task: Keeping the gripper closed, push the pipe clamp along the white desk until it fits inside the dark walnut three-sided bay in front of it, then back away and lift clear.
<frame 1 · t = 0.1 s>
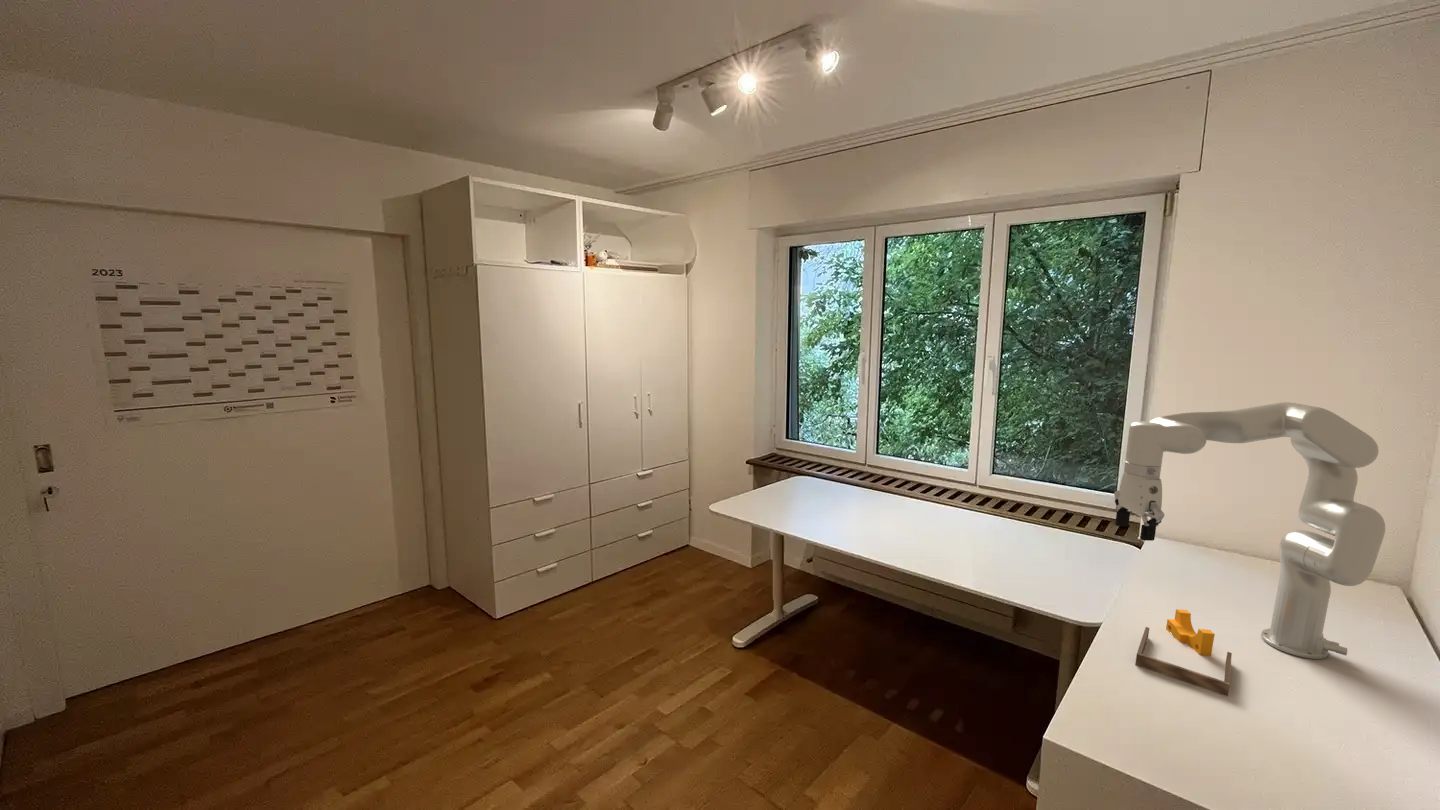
hand: (1134, 532, 148), 31 cm above the table, tool pointing down, fingers open, 9 cm apart
pipe clamp: (1187, 643, 153), on the table
walnut bay: (1182, 663, 144), on the table
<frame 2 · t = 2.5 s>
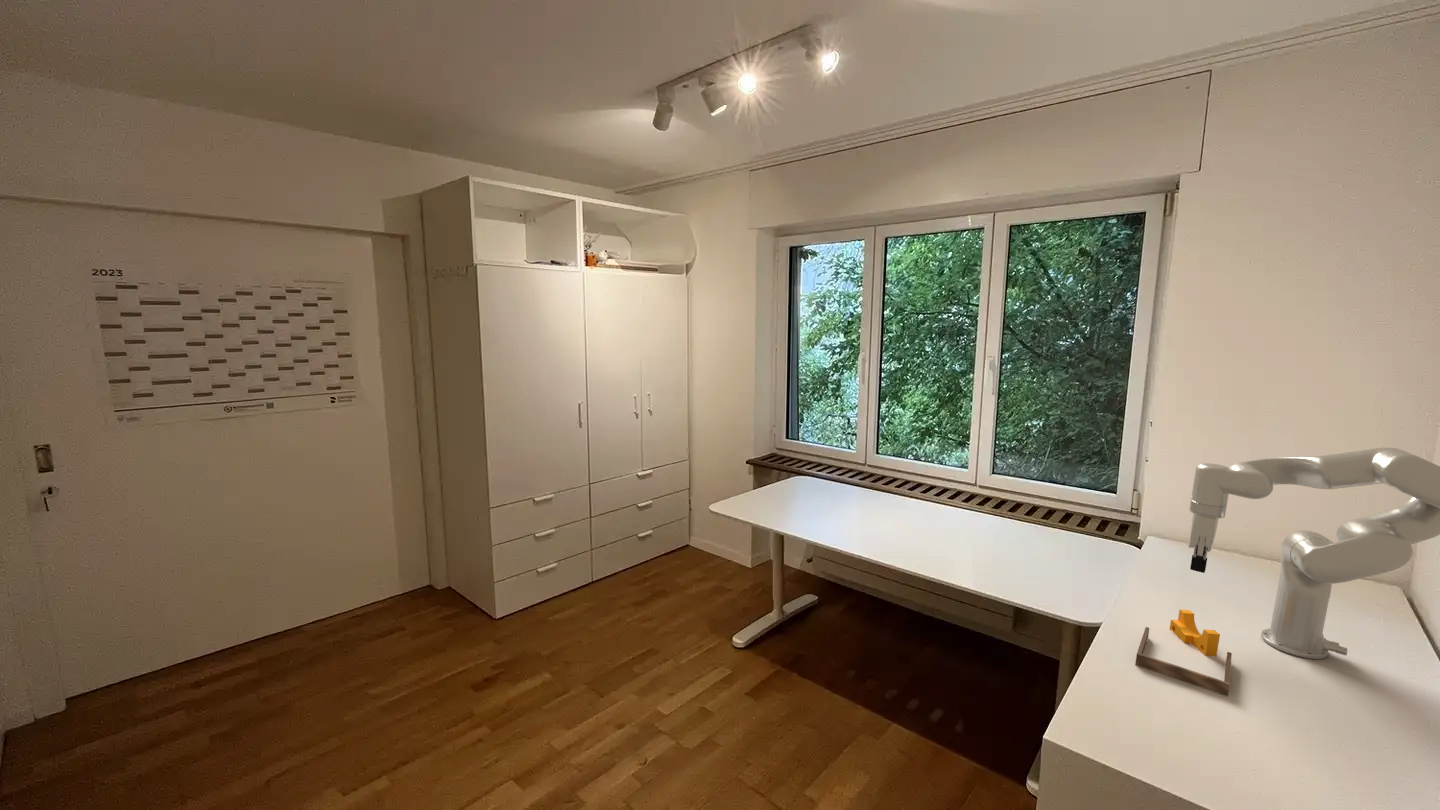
hand: (1197, 570, 159), 16 cm above the table, tool pointing down, fingers closed
pipe clamp: (1191, 643, 153), on the table
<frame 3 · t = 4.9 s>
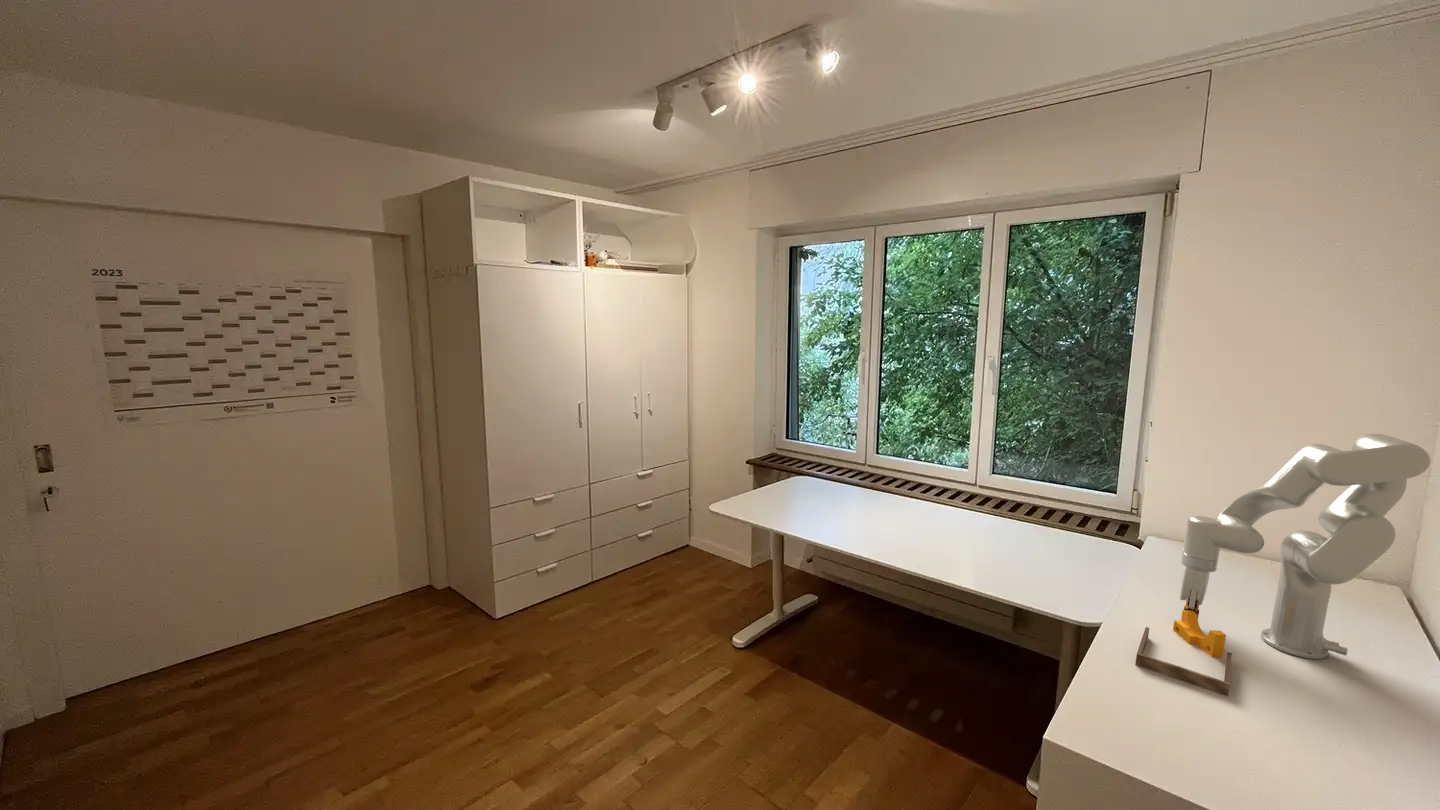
hand: (1189, 621, 160), 2 cm above the table, tool pointing down, fingers closed
pipe clamp: (1196, 644, 153), on the table, touching gripper
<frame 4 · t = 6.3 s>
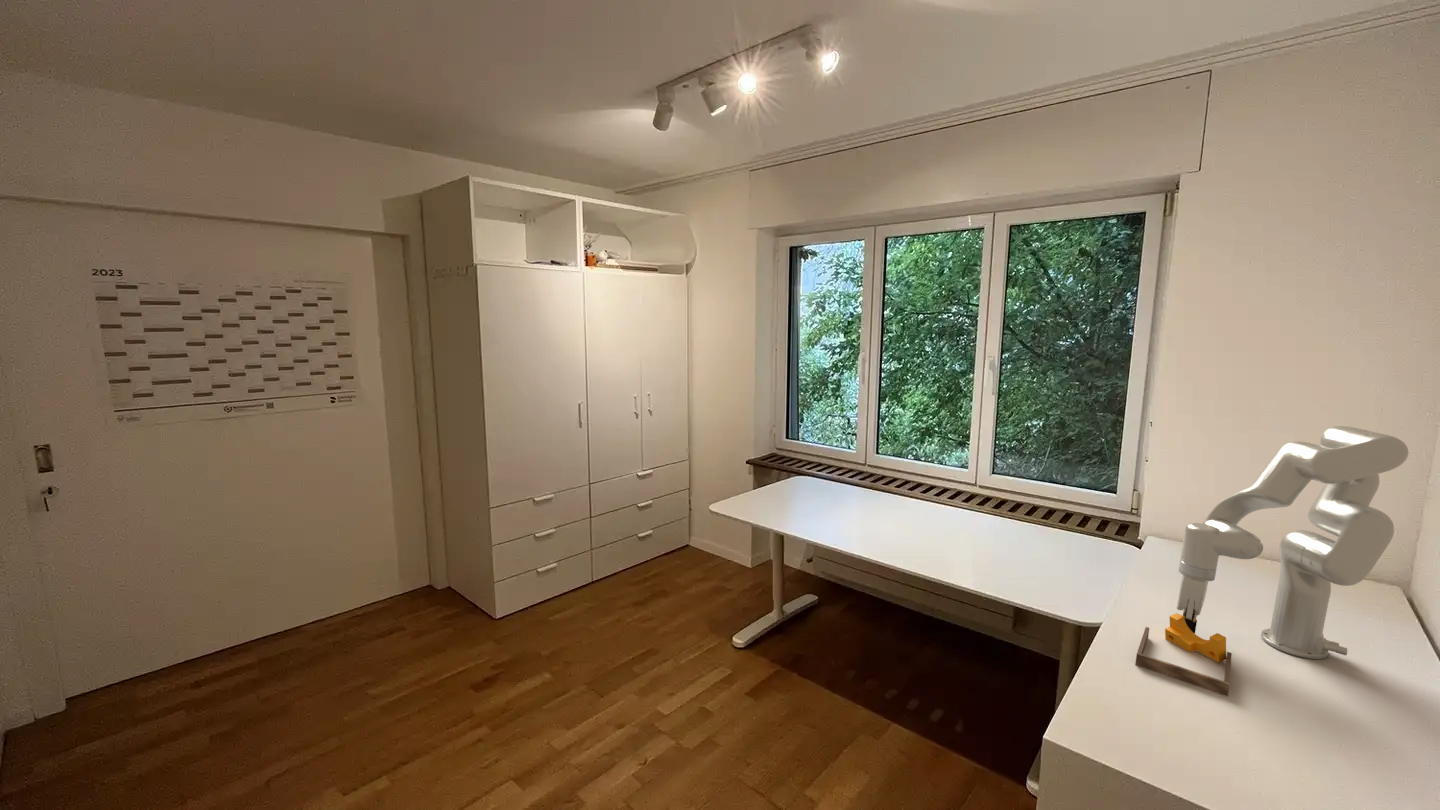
hand: (1187, 632, 155), 2 cm above the table, tool pointing down, fingers closed
pipe clamp: (1194, 649, 149), on the table, touching gripper
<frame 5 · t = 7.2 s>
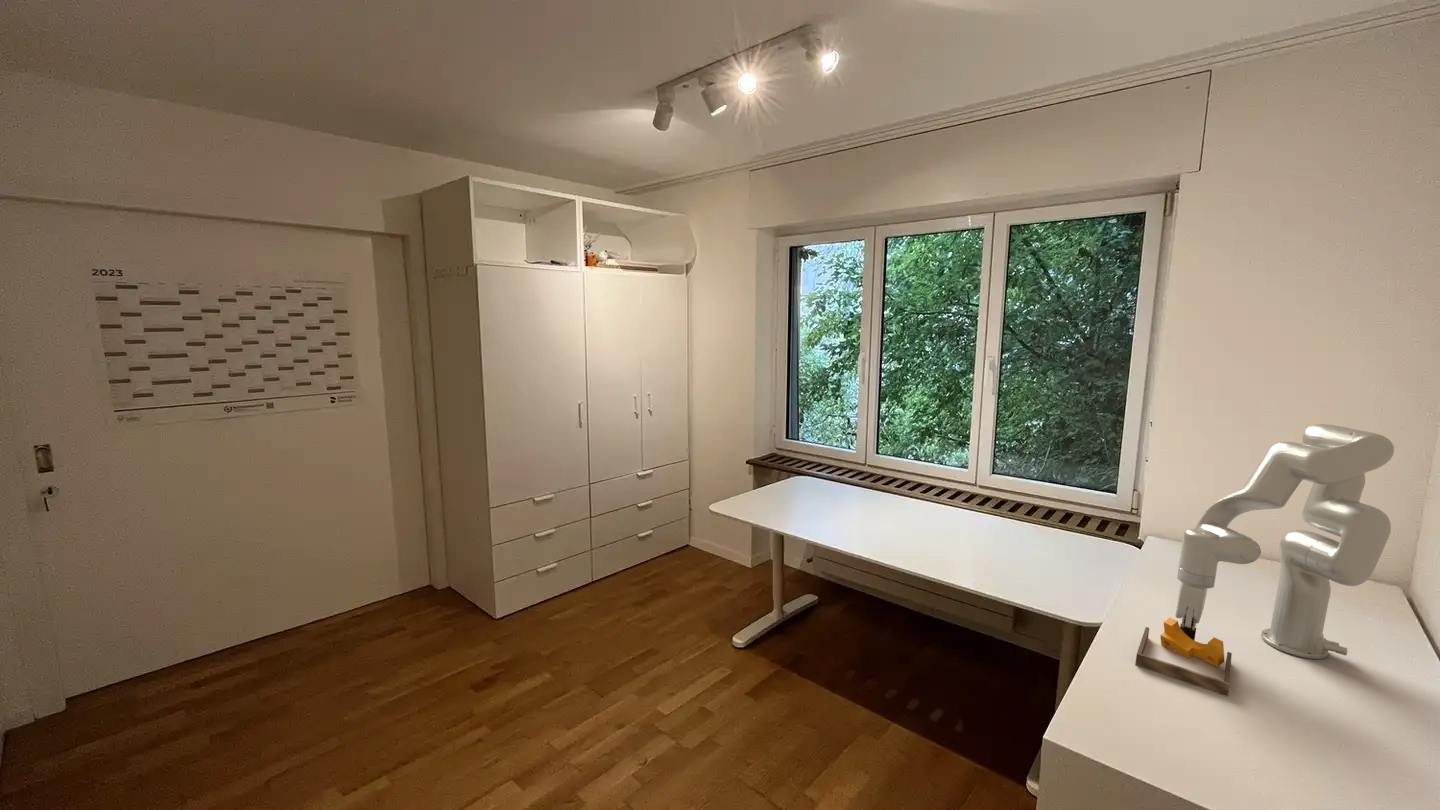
hand: (1186, 640, 151), 2 cm above the table, tool pointing down, fingers closed
pipe clamp: (1191, 653, 147), point 1 cm above the table, touching gripper
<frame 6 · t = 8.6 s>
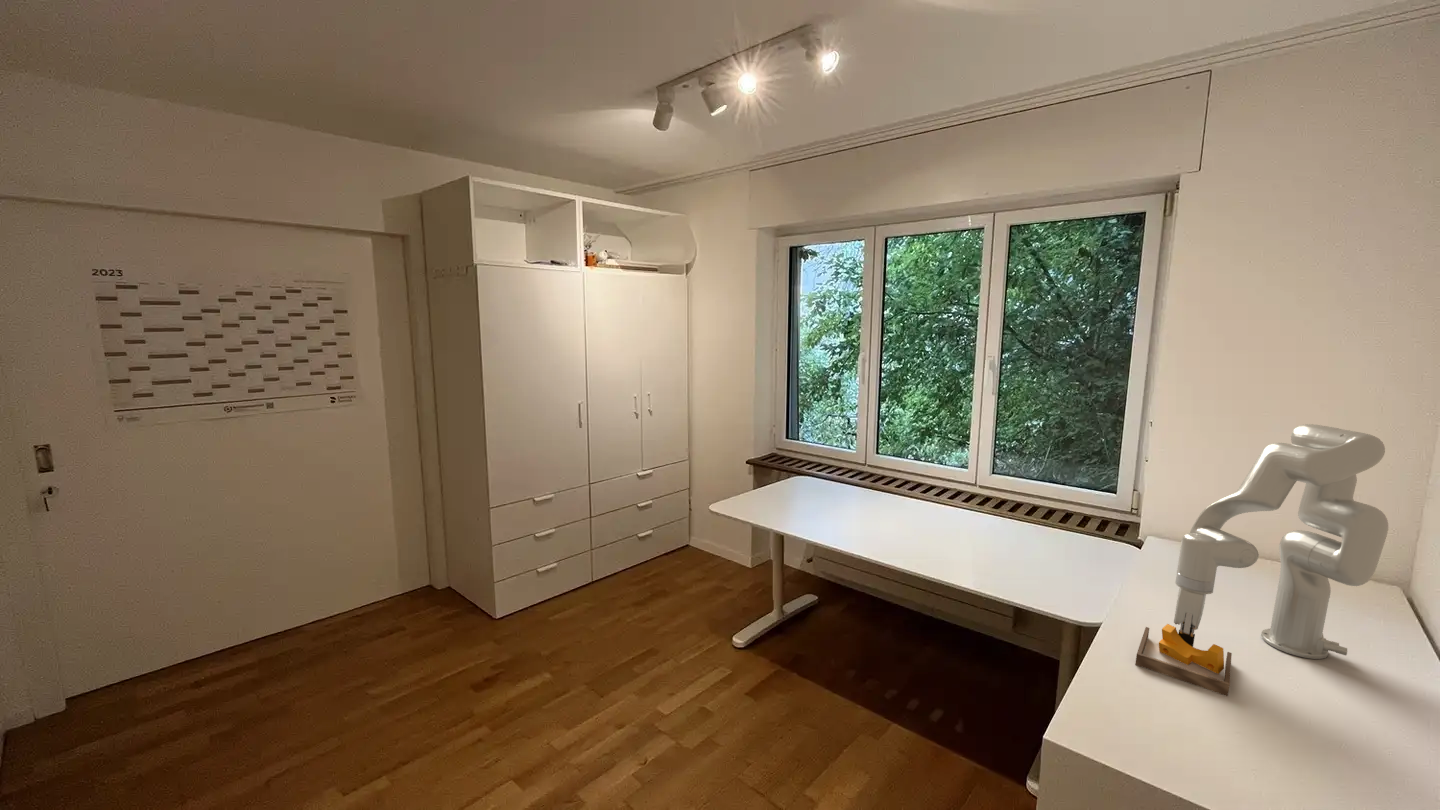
hand: (1184, 646, 148), 2 cm above the table, tool pointing down, fingers closed
pipe clamp: (1190, 660, 144), on the table, touching gripper
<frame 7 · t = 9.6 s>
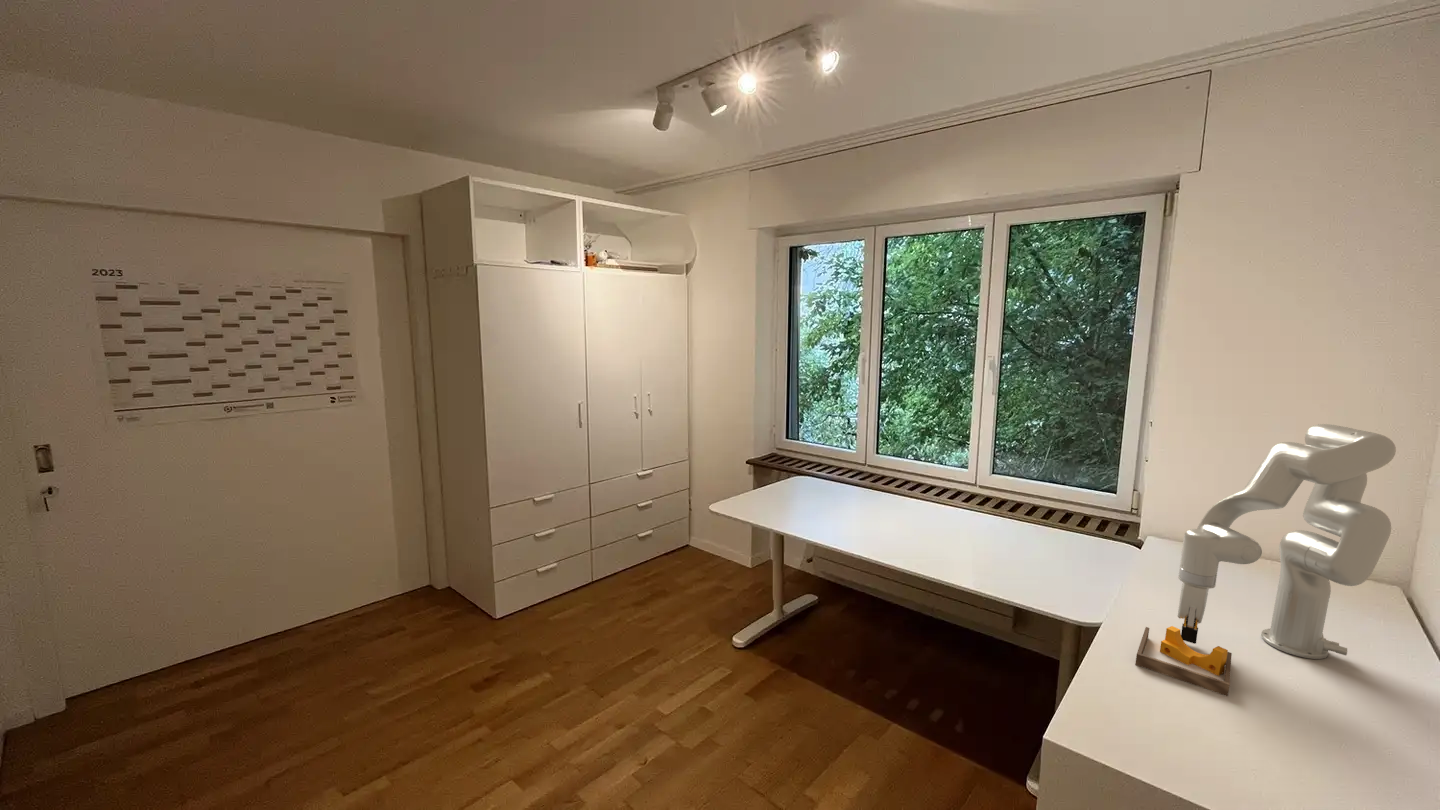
hand: (1188, 640, 152), 1 cm above the table, tool pointing down, fingers closed
pipe clamp: (1190, 663, 145), on the table
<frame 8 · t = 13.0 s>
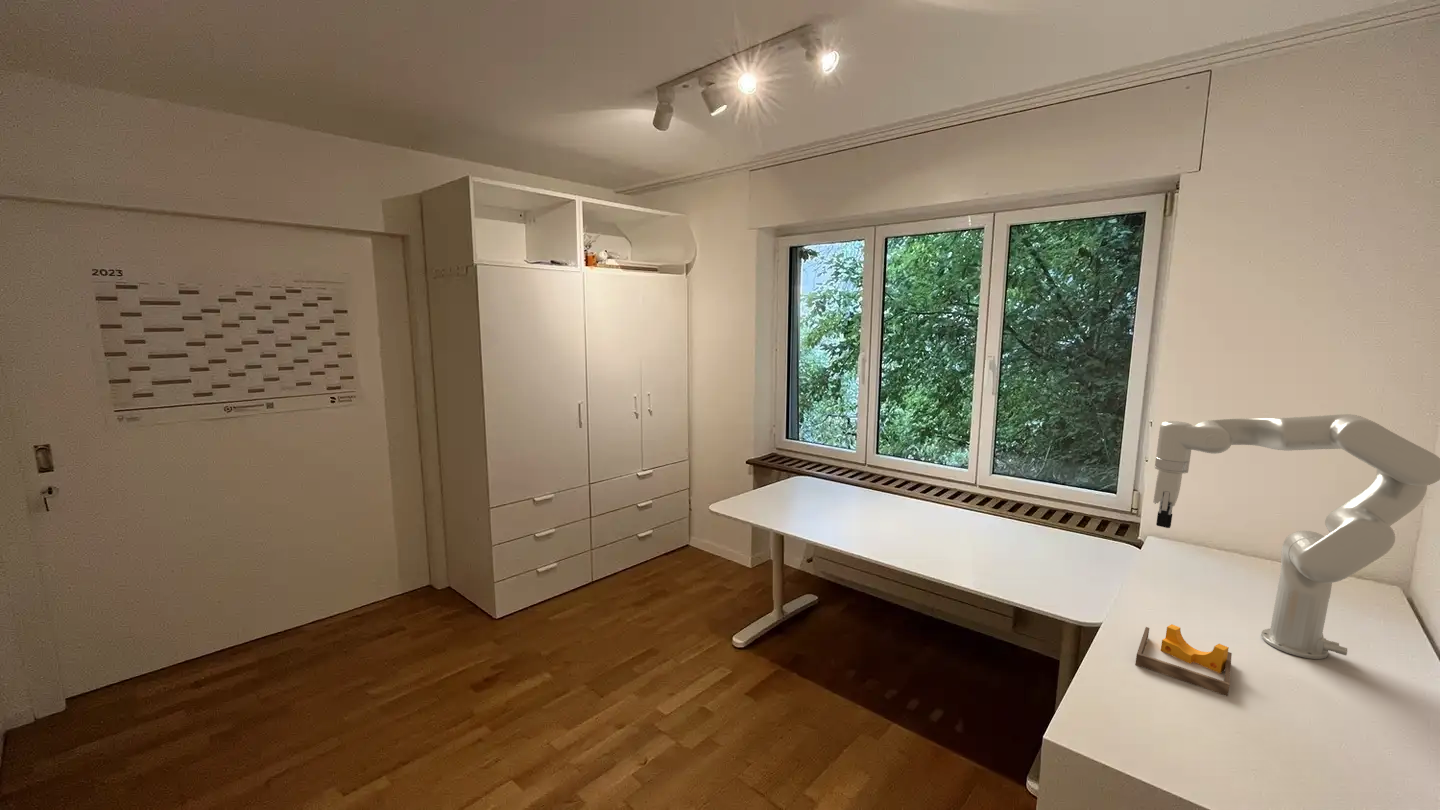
hand: (1163, 526, 163), 27 cm above the table, tool pointing down, fingers closed
pipe clamp: (1191, 661, 145), on the table
at the end: pipe clamp inside the target area on the walnut bay (4.5 cm from its centre), point 0.0 cm above the walnut bay's base; pipe clamp moved 9.7 cm from its start; the gripper is holding nothing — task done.
